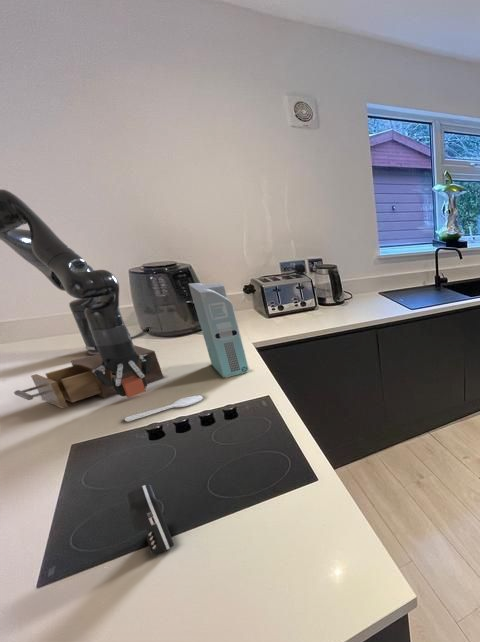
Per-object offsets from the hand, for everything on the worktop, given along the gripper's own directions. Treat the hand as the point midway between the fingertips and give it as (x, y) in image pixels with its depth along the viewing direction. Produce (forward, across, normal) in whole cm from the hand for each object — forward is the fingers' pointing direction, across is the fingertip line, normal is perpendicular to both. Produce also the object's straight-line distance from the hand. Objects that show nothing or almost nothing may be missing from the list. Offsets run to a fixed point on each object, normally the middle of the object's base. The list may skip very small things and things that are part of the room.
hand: (133, 391), depth 122 cm
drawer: (+1, +8, -14) cm, 16 cm away
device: (+2, -26, +5) cm, 27 cm away
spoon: (+2, 0, +16) cm, 16 cm away
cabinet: (+2, -4, -14) cm, 14 cm away
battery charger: (+1, +29, +68) cm, 74 cm away
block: (0, 0, 0) cm, 0 cm away
